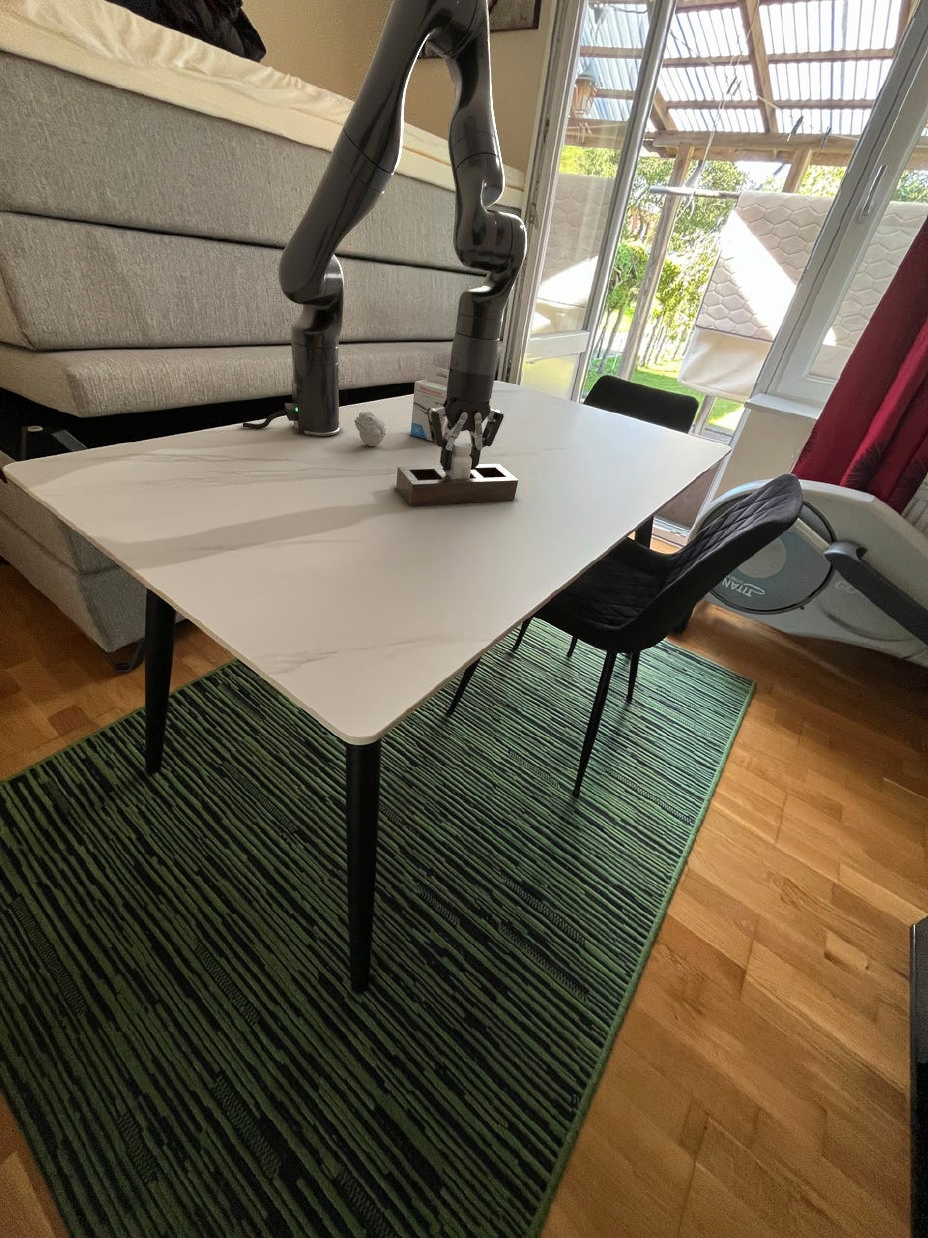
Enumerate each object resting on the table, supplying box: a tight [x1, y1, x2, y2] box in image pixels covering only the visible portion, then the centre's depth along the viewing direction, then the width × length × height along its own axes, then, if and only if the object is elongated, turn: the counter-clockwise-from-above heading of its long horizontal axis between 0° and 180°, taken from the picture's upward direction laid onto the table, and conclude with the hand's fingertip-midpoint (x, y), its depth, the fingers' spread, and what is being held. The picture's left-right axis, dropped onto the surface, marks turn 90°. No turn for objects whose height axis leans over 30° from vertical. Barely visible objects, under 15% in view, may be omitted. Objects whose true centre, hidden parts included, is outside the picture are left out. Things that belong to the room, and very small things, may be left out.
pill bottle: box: [446, 440, 472, 479], centre depth 93 cm, size 4×4×8 cm
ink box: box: [410, 364, 449, 442], centre depth 116 cm, size 9×5×15 cm, turn 65°
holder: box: [395, 463, 519, 507], centre depth 95 cm, size 8×21×4 cm, turn 114°
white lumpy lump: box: [353, 411, 387, 447], centre depth 109 cm, size 6×7×7 cm
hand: (458, 468), depth 93 cm, fingers closed on pill bottle, 4 cm apart
